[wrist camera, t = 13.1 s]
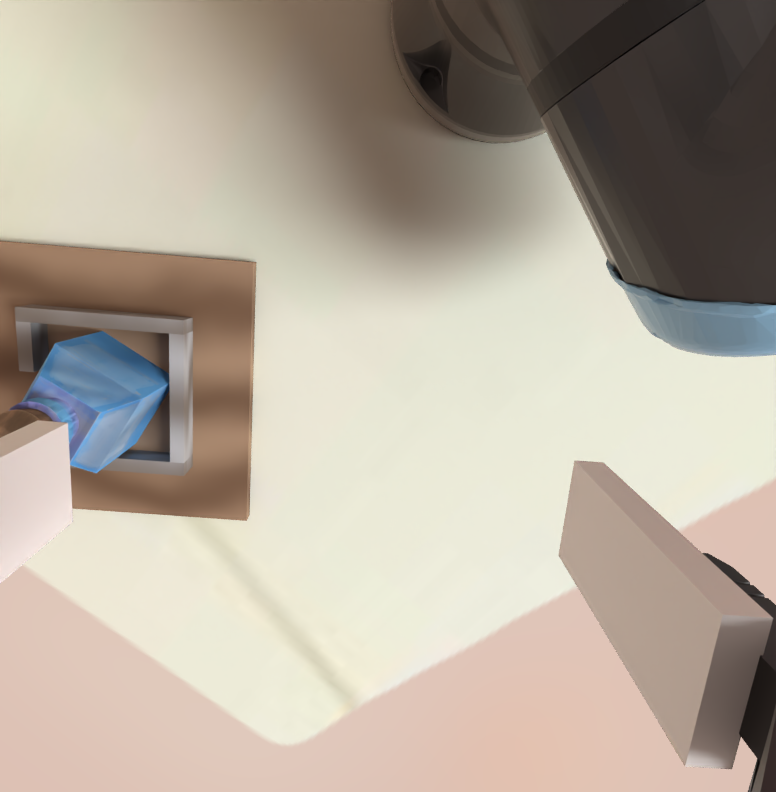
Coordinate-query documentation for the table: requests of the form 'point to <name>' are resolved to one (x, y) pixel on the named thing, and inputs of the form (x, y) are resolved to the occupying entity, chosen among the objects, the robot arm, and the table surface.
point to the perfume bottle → (92, 398)
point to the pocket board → (160, 344)
